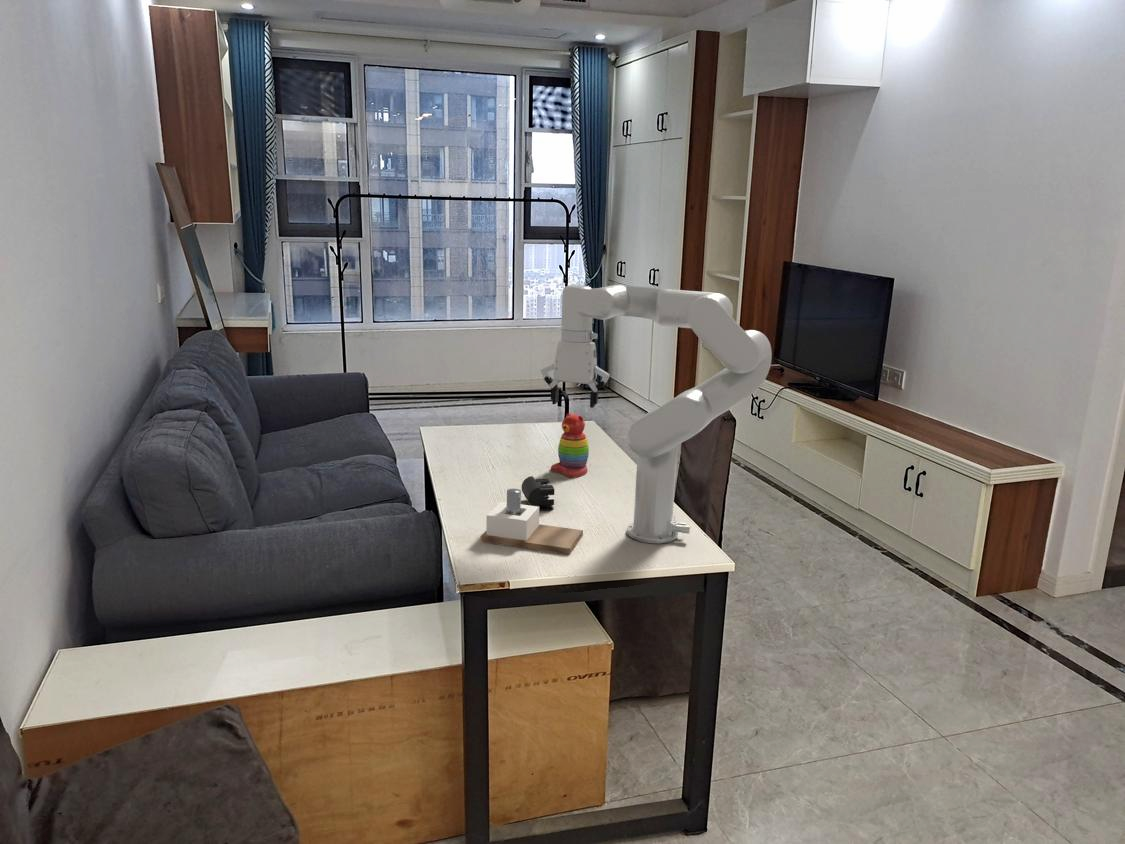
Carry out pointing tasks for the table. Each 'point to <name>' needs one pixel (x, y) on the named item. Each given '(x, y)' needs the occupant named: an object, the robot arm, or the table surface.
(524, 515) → the socket
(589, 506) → the table surface
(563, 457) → the stacking bear
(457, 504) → the table surface
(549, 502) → the end cap
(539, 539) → the board
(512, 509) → the peg
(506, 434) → the table surface
